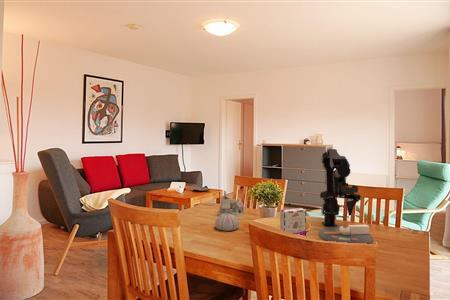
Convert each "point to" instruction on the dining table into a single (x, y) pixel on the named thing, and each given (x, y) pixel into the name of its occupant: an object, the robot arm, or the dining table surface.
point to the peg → (351, 230)
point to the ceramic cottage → (230, 206)
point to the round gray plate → (344, 236)
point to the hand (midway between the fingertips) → (341, 214)
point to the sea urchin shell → (227, 222)
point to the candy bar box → (293, 221)
